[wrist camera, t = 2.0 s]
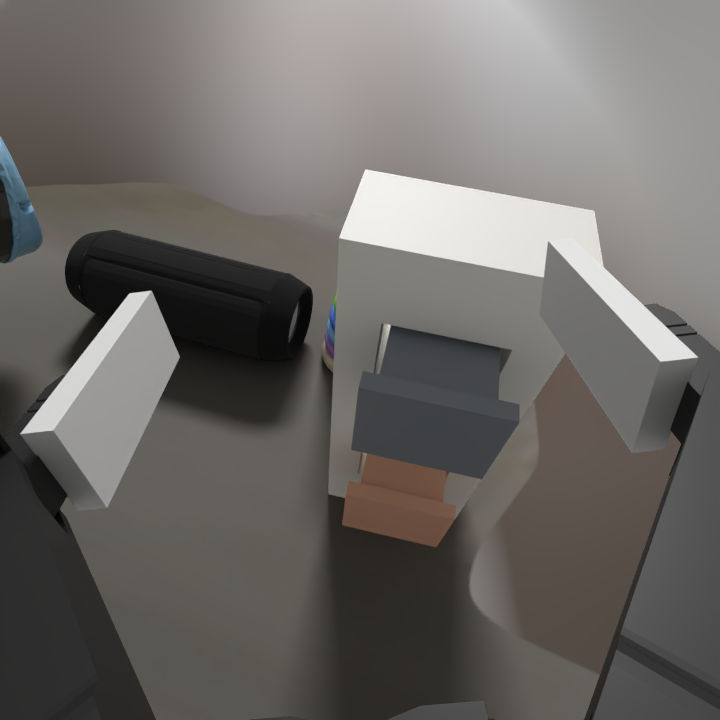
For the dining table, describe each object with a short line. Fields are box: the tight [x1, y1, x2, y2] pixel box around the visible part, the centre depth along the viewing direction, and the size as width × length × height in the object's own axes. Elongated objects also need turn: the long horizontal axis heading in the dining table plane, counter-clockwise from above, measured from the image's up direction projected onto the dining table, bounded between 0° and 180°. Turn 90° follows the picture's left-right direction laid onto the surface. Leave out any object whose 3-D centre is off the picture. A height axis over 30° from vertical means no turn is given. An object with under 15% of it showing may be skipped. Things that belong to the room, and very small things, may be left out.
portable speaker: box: [65, 230, 313, 361], centre depth 53 cm, size 26×10×10 cm, turn 74°
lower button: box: [342, 454, 456, 547], centre depth 37 cm, size 8×7×6 cm
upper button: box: [351, 325, 520, 479], centre depth 27 cm, size 8×7×6 cm
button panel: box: [328, 170, 603, 519], centre depth 35 cm, size 12×6×30 cm, turn 78°
